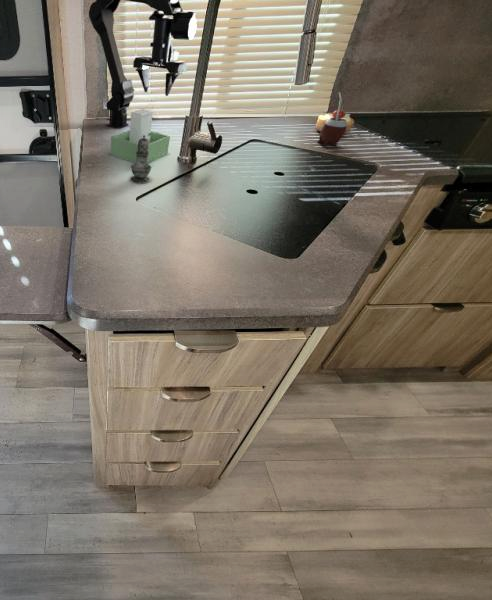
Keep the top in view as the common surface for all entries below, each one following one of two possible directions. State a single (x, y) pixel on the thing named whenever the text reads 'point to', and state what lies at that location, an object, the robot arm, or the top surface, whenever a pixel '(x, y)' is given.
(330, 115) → the pastry
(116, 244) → the top surface
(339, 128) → the mate gourd
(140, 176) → the grey tall ornate piece
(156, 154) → the green open box
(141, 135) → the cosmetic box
